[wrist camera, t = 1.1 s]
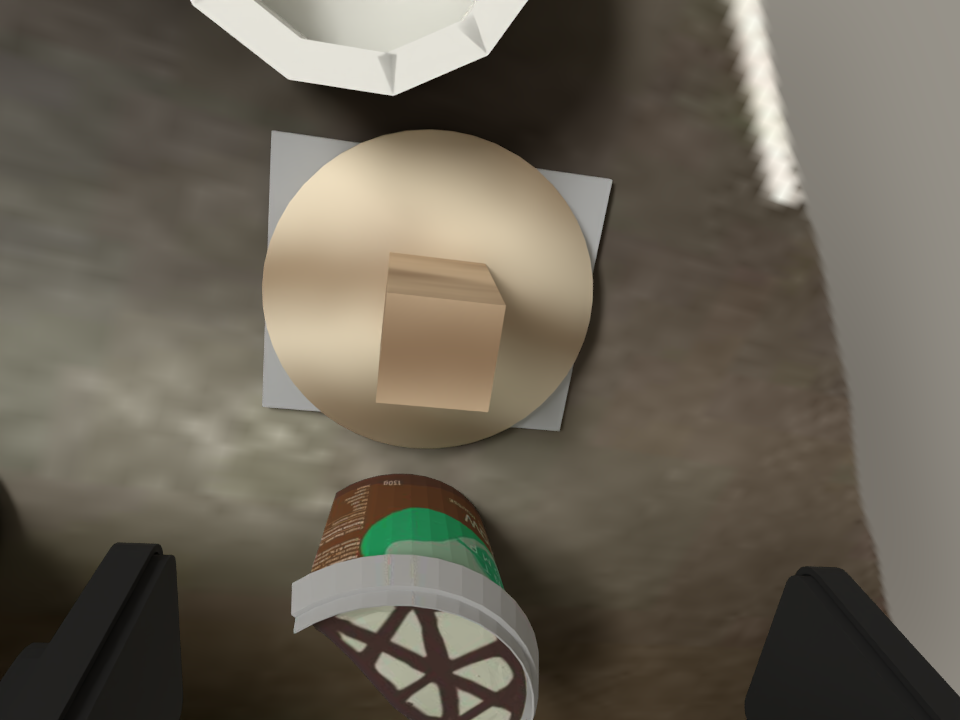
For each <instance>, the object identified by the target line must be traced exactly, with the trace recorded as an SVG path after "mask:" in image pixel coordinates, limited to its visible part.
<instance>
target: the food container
mask: <svg viewBox="0 0 960 720" xmlns="http://www.w3.org/2000/svg"><path fill="white" fill-rule="evenodd" d="M291 615H292V616H294V617H295V625H294V633H297V632H299V631H301V630H303V629H304V628H306V627H308V626H310V625H313V626H314V627H315V629H316V630H318V631H320V632H321V633H323V634H324V635H325V636H327V637H328V638H329V639H330V640H331V641H332V642H333V643H335V644H336V645H337V646H338V647H339V648H340V649H341V650H342V651H343V652H344V653H345V654H346V655H347V656H348V657H349V658H350V659H351V660H352V661H353V662H354V663H355V664H356V665H357V667H358V668H359V669H360V670H361V671H362V672H363V673H364V674H365V676H366V677H367V678H368V679H369V680H370V681H371V683H372V684H373V685H374V686H375V687H376V688H377V690H378V691H379V692H380V693H381V694H382V695H383V696H384V697H385V698H386V699H387V700H388V702H389V703H390V704H391V705H392V706H393V707H394V708H395V709H397V710H398V711H399V712H400V713H402V714H403V715H404V716H406V717H407V718H408V719H410V720H533V718H534V715H535V711H536V706H537V701H538V681H539V651H538V646H537V642H536V637H535V633H534V631H533V629H532V627H531V624H530V622H529V620H528V618H527V616H526V615H525V613H524V612H523V611H522V609H521V608H520V606H519V605H518V604H517V602H516V601H515V600H514V599H513V598H512V597H511V596H510V595H509V594H508V593H507V592H506V591H505V590H504V587H503V584H502V581H501V578H500V575H499V571H498V568H497V565H496V562H495V559H494V556H493V553H492V549H491V546H490V543H489V540H488V537H487V534H486V531H485V528H484V526H483V523H482V520H481V518H480V515H479V513H478V512H477V510H476V509H475V507H474V506H473V504H472V503H471V502H470V501H469V500H468V499H467V498H466V497H465V496H464V495H463V494H461V493H460V492H459V491H457V490H456V489H454V488H453V487H451V486H449V485H447V484H445V483H443V482H441V481H438V480H435V479H432V478H429V477H426V476H419V475H413V474H389V475H380V476H376V477H372V478H368V479H364V480H362V481H359V482H356V483H354V484H351V485H349V486H348V487H346V488H344V489H342V490H341V491H339V492H337V493H336V495H335V498H334V501H333V504H332V508H331V511H330V514H329V517H328V520H327V523H326V526H325V529H324V532H323V536H322V539H321V542H320V545H319V548H318V551H317V554H316V557H315V560H314V563H313V567H312V570H311V573H310V574H308V575H307V576H305V577H303V578H301V579H299V580H297V581H296V582H294V583H292V608H291Z"/></svg>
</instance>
